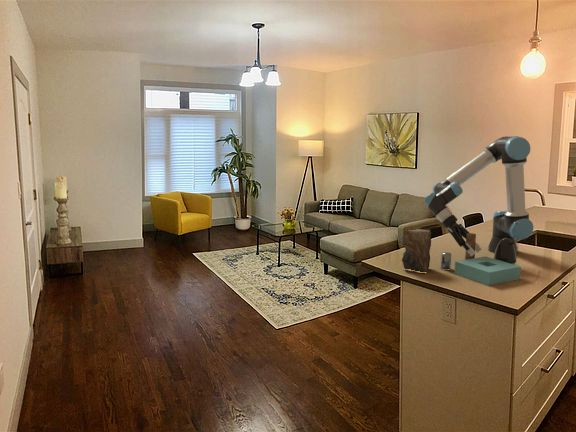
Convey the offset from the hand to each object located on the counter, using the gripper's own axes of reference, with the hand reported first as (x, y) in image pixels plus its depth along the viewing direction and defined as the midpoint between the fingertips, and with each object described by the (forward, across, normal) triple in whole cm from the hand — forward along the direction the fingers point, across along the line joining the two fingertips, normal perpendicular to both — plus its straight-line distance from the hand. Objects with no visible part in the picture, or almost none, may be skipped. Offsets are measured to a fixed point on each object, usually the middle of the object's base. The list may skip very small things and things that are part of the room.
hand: (476, 252), depth 229 cm
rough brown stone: (-9, +26, -19) cm, 33 cm away
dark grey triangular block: (+14, -5, +4) cm, 15 cm away
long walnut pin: (+2, 0, -7) cm, 8 cm away
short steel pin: (-2, +14, -12) cm, 19 cm away
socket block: (+12, +15, +2) cm, 19 cm away
